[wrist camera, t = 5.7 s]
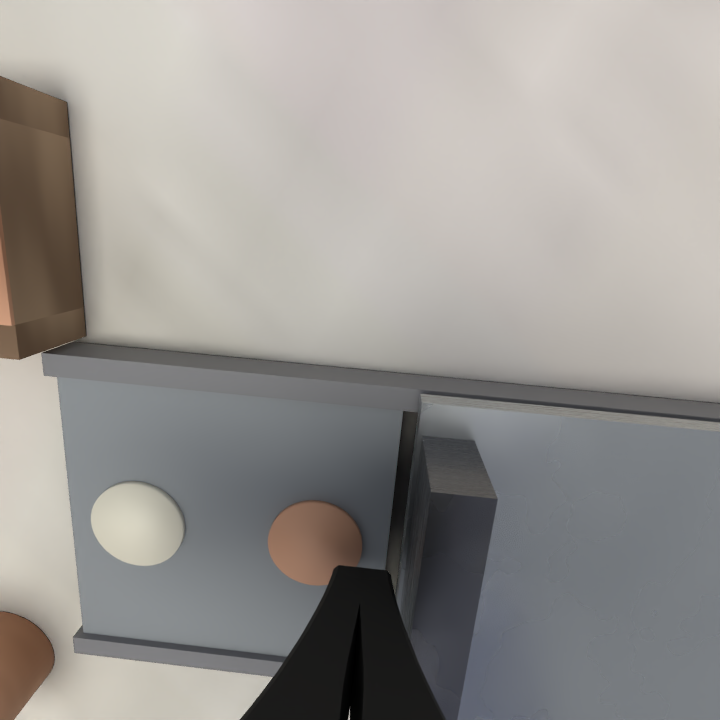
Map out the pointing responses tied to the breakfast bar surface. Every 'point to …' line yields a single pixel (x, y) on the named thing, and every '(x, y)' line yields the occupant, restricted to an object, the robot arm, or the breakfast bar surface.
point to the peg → (21, 662)
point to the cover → (563, 562)
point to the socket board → (37, 225)
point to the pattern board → (240, 491)
